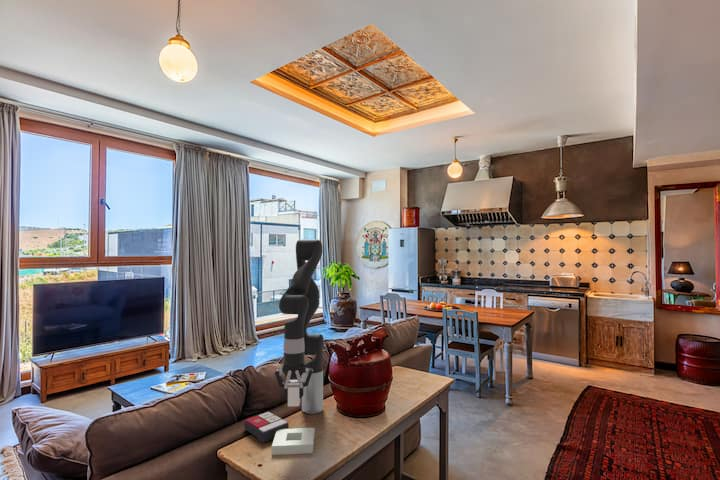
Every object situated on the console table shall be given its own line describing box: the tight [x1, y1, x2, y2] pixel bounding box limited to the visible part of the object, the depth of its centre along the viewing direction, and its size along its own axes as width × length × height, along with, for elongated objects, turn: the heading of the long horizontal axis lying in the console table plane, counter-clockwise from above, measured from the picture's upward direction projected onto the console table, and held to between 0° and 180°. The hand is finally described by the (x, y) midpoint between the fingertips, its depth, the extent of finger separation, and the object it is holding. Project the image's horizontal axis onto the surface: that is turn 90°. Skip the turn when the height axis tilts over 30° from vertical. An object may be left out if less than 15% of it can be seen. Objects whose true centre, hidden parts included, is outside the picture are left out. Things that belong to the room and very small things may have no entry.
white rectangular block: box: [287, 379, 301, 407], centre depth 131 cm, size 4×4×8 cm
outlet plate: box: [271, 427, 316, 456], centre depth 130 cm, size 12×14×3 cm
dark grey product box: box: [243, 411, 290, 444], centre depth 140 cm, size 11×4×15 cm
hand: (294, 397), depth 131 cm, fingers closed on white rectangular block, 4 cm apart
